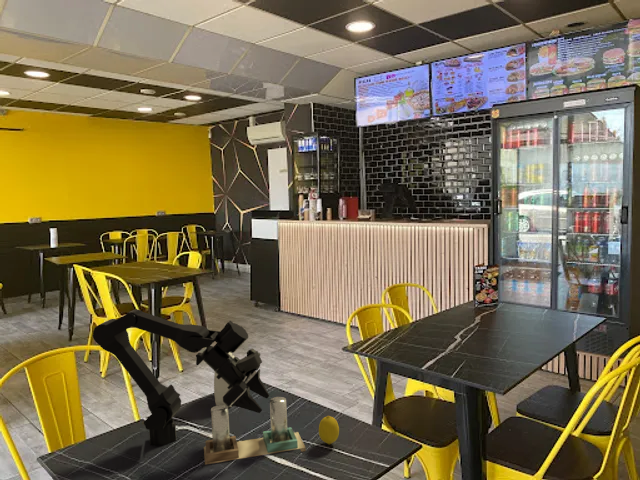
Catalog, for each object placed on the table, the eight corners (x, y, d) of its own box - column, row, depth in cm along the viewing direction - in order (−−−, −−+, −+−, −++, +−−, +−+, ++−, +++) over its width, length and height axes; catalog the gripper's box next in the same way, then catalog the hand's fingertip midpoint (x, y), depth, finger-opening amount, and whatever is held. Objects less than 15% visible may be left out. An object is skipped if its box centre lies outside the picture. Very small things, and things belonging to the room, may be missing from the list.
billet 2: (270, 447, 133) (268, 403, 132) (273, 439, 137) (271, 396, 136) (286, 447, 132) (284, 403, 131) (288, 439, 137) (287, 396, 136)
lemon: (322, 450, 132) (321, 421, 131) (316, 441, 137) (315, 413, 136) (342, 447, 133) (341, 418, 133) (336, 437, 139) (335, 410, 138)
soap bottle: (231, 410, 159) (228, 349, 157) (215, 411, 159) (211, 350, 157) (240, 390, 175) (237, 335, 173) (225, 391, 175) (222, 335, 173)
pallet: (205, 468, 125) (204, 456, 125) (204, 450, 134) (203, 440, 134) (305, 451, 132) (305, 440, 132) (298, 435, 141) (297, 425, 140)
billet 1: (213, 458, 128) (211, 413, 127) (212, 449, 132) (210, 406, 131) (231, 455, 129) (228, 410, 128) (229, 447, 134) (227, 404, 132)
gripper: (233, 354, 124) (278, 398, 124) (251, 333, 142) (290, 371, 142) (204, 384, 125) (248, 428, 125) (225, 360, 144) (264, 397, 144)
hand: (264, 404), depth 134 cm, fingers open, 9 cm apart
